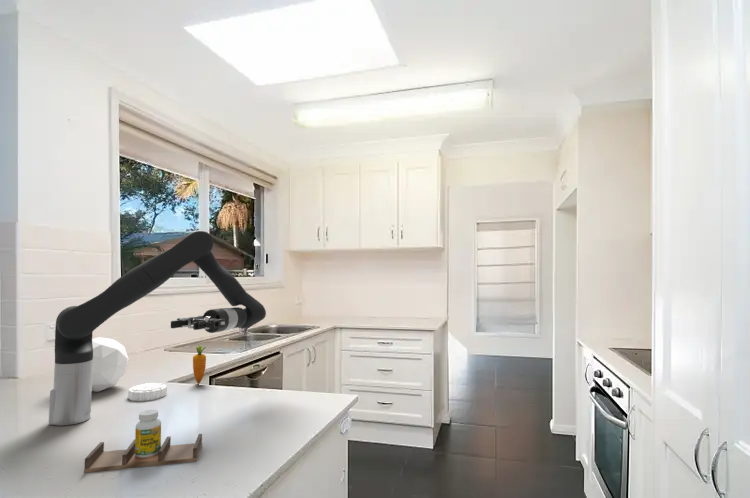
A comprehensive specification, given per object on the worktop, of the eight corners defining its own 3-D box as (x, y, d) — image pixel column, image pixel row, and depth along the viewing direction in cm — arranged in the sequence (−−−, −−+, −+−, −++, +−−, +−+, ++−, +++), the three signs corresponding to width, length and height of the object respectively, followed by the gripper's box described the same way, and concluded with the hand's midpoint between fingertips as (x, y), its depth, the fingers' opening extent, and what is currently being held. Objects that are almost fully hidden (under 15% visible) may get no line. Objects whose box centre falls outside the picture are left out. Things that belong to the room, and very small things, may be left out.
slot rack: (84, 472, 92) (84, 458, 92) (99, 455, 100) (99, 442, 101) (196, 461, 98) (197, 447, 98) (202, 445, 106) (202, 433, 106)
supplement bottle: (158, 446, 103) (159, 407, 104) (162, 454, 99) (164, 412, 99) (132, 452, 100) (134, 411, 100) (136, 460, 96) (138, 417, 96)
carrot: (194, 382, 167) (195, 343, 168) (207, 382, 168) (208, 343, 169) (189, 385, 162) (191, 346, 163) (203, 385, 163) (204, 346, 164)
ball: (106, 410, 154) (113, 372, 145) (50, 392, 151) (54, 352, 143) (135, 373, 171) (143, 337, 162) (85, 356, 168) (90, 319, 160)
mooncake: (174, 392, 153) (174, 382, 154) (150, 402, 142) (150, 391, 142) (145, 390, 156) (145, 380, 156) (119, 400, 144) (120, 389, 144)
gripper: (203, 307, 142) (164, 311, 127) (238, 309, 137) (202, 313, 122) (203, 330, 141) (163, 337, 126) (238, 332, 137) (201, 339, 121)
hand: (182, 325), depth 124 cm, fingers open, 8 cm apart
